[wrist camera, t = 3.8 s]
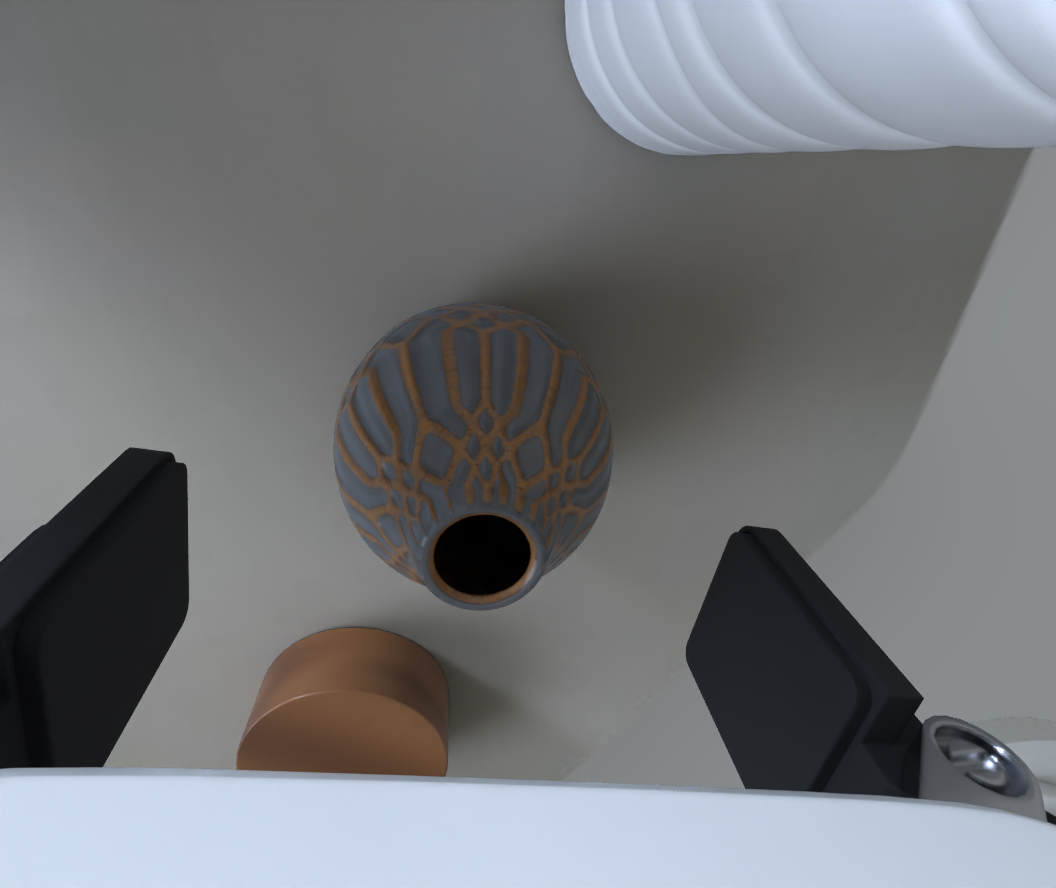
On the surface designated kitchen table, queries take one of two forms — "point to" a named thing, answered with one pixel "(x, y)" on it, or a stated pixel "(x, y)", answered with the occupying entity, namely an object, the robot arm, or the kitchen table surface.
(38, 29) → the kitchen table surface
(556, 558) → the vase
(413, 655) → the ladle
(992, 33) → the water bottle
